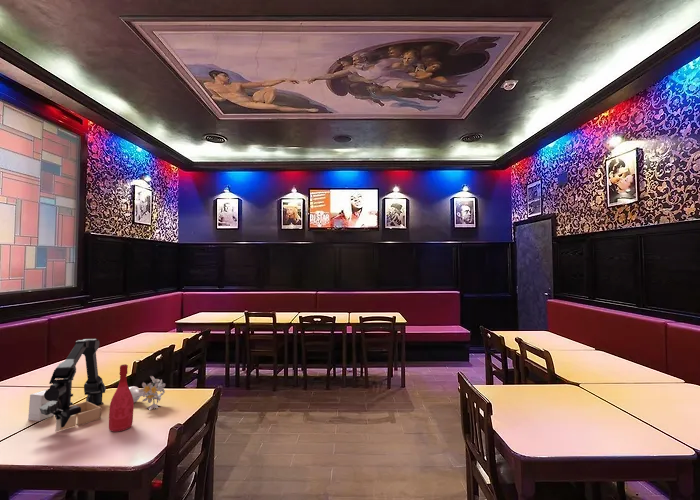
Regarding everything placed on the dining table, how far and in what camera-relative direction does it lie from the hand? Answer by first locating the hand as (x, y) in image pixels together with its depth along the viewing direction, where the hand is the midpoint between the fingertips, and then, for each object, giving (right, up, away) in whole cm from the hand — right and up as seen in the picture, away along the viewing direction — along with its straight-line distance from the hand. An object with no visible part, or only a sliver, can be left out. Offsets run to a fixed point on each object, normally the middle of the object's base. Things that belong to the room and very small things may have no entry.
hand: (61, 426), depth 166 cm
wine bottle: (+26, -3, +3) cm, 26 cm away
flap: (+1, -2, +2) cm, 3 cm away
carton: (-1, -3, +14) cm, 14 cm away
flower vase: (+20, -5, +32) cm, 38 cm away
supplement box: (-22, -3, +14) cm, 26 cm away
